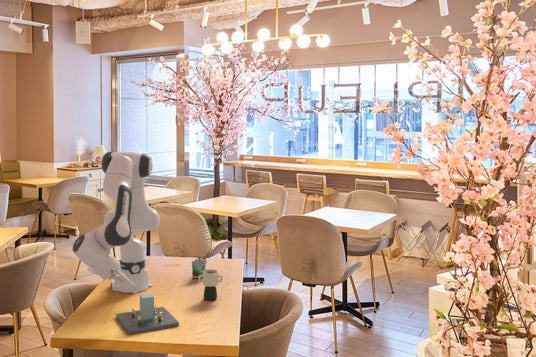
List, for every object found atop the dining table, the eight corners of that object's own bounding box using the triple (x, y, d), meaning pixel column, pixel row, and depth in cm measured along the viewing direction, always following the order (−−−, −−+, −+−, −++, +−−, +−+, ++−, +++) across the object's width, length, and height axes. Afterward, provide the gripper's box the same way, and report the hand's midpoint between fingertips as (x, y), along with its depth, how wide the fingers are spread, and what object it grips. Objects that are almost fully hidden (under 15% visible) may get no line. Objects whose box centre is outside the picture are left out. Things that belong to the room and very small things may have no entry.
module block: (139, 316, 212) (139, 295, 212) (150, 314, 215) (150, 293, 214) (142, 320, 209) (142, 298, 208) (154, 318, 211) (154, 296, 210)
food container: (203, 281, 269) (203, 261, 268) (191, 280, 270) (191, 261, 269) (209, 274, 281) (209, 256, 280) (198, 273, 282) (198, 255, 281)
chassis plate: (116, 317, 216) (115, 306, 215) (163, 310, 225) (163, 299, 225) (128, 334, 198) (128, 323, 198) (178, 325, 208) (179, 314, 207)
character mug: (222, 296, 245) (222, 269, 244) (221, 301, 238) (222, 273, 237) (198, 296, 245) (199, 269, 243) (197, 301, 237) (198, 273, 236)
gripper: (121, 268, 194) (147, 290, 200) (108, 255, 212) (132, 276, 217) (108, 281, 192) (135, 303, 198) (97, 267, 210) (122, 288, 216)
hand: (133, 289), depth 208 cm, fingers open, 8 cm apart
